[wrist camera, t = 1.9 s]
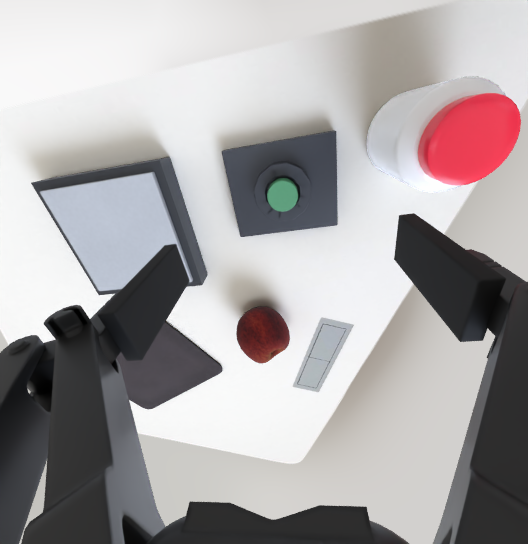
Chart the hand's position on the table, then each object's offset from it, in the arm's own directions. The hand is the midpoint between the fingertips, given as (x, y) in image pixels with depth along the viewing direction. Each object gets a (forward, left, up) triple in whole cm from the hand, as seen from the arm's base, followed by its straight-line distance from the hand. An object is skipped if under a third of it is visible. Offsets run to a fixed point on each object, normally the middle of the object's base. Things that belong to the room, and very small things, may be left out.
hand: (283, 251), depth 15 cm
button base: (0, 0, -17) cm, 17 cm away
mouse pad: (+38, -18, -17) cm, 45 cm away
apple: (+20, +2, -17) cm, 26 cm away
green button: (0, 0, -14) cm, 14 cm away
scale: (+10, -18, -17) cm, 27 cm away
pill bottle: (-8, +11, -17) cm, 22 cm away
